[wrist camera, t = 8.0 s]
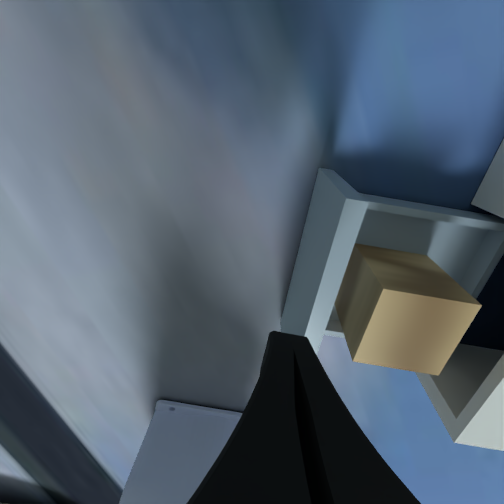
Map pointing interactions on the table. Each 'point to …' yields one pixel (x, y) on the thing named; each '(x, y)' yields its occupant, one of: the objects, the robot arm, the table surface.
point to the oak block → (401, 310)
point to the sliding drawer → (379, 235)
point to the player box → (474, 360)
